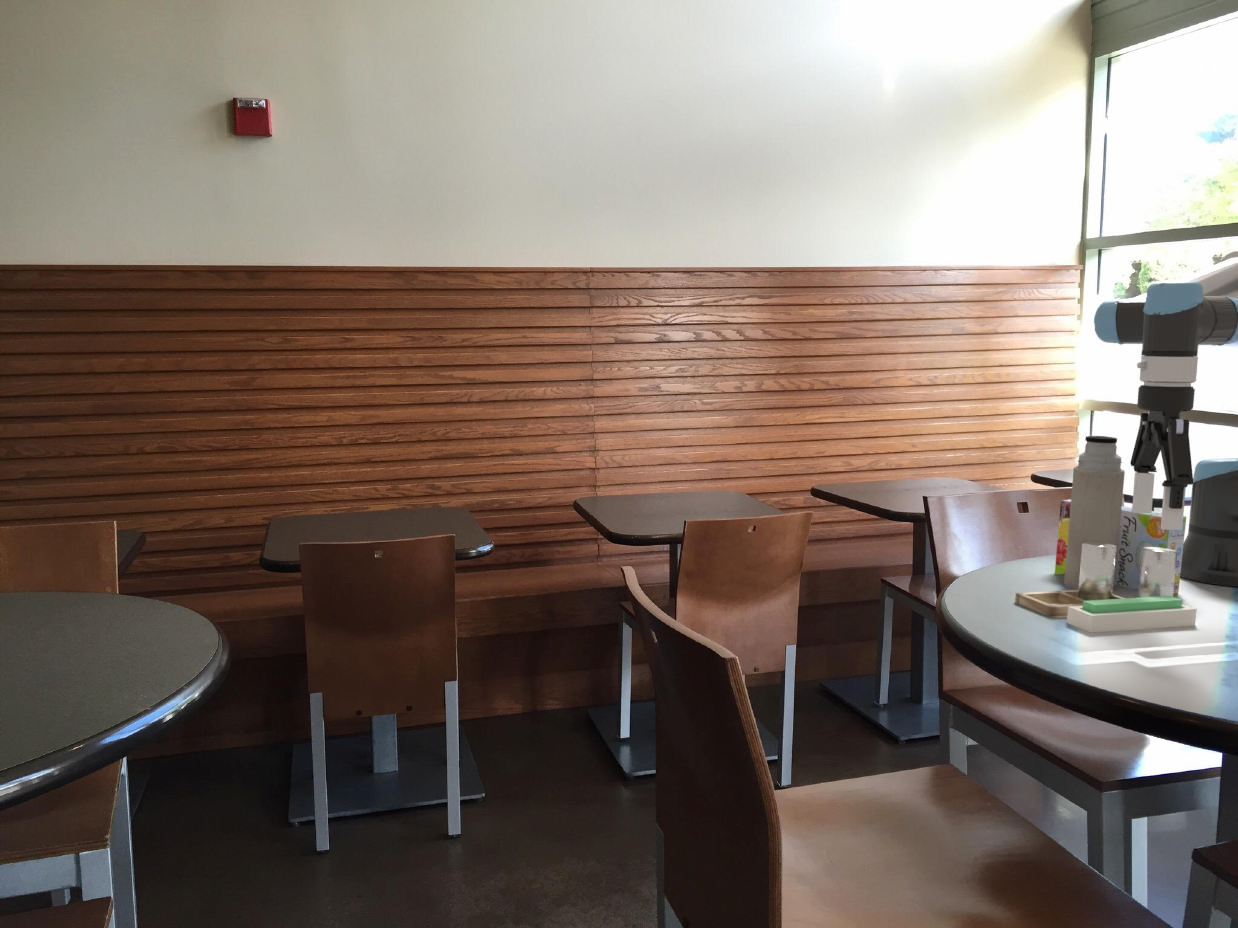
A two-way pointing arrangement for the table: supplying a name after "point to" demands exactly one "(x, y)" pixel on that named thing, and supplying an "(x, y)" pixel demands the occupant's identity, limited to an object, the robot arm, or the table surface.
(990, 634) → the table surface
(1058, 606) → the wooden divided tray
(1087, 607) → the green rectangular bar
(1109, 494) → the thermos bottle
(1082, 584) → the cylinder
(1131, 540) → the snack box
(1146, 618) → the housing
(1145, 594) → the billet
